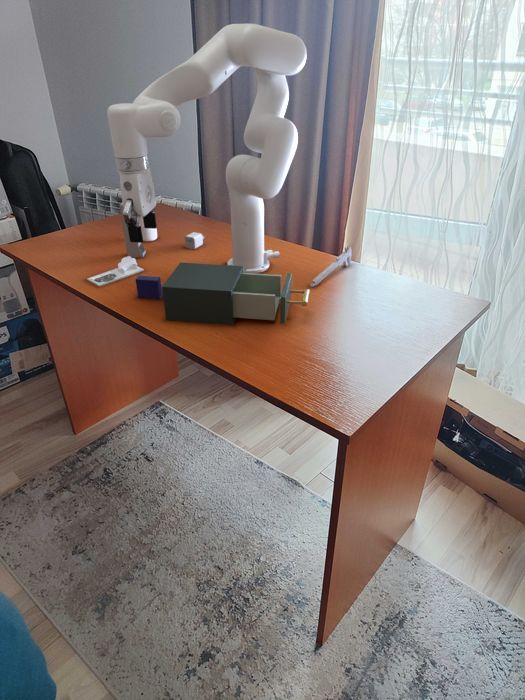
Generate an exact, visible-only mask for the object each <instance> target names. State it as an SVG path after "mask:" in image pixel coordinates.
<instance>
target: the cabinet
mask: <svg viewBox="0 0 525 700" xmlns="http://www.w3.org/2000/svg"><path fill="white" fill-rule="evenodd" d="M241 273H244V270H243V266H232V265H227V264H213V263H198V262H197V263H196V262H179V263H178V265H177V266H176V267H175V268H174V270H173V271H172V273H171V274H170V275H169V277H168V278H167V279H166V280H165V281H164V283H163V284H162V285H161V286H162V294H163V296H162V299H163V308H164V316H165V320H166V321H173V322H174V321H175V322H189V323H200V324H201V323H202V324H203V323H204V324H213V325H214V324H215V325H226V326H227V325H229V326H233V325H234V323H235V320H236V318H235V317H233V300H232V292H233V290H234V288H235V286H236V284H237V282H238V280H239V278H240V275H241Z"/></svg>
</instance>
